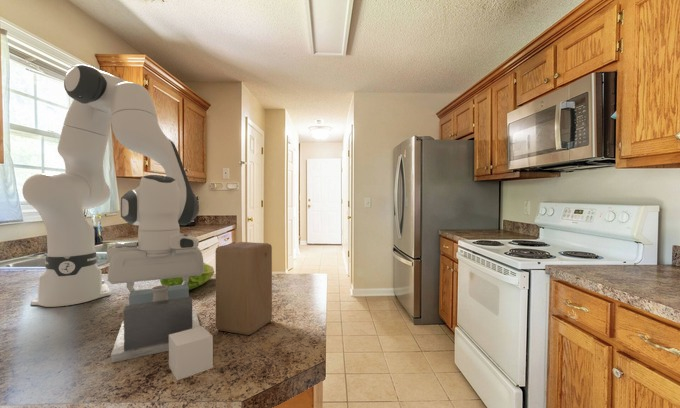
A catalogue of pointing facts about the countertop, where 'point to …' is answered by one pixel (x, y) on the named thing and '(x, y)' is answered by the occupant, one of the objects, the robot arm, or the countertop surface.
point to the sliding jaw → (147, 294)
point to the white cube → (190, 352)
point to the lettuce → (191, 278)
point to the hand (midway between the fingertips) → (158, 296)
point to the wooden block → (243, 287)
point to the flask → (160, 293)
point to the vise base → (152, 327)
